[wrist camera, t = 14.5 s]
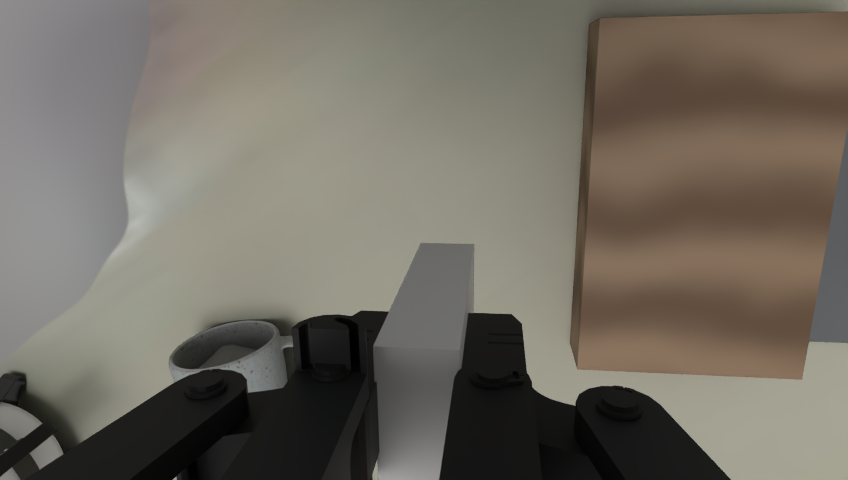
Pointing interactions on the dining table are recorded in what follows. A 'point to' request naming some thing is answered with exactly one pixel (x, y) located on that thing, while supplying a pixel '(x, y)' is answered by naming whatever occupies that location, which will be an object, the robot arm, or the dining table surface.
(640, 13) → the dining table surface
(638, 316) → the board
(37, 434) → the coffee press
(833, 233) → the mat
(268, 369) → the ceramic mug
